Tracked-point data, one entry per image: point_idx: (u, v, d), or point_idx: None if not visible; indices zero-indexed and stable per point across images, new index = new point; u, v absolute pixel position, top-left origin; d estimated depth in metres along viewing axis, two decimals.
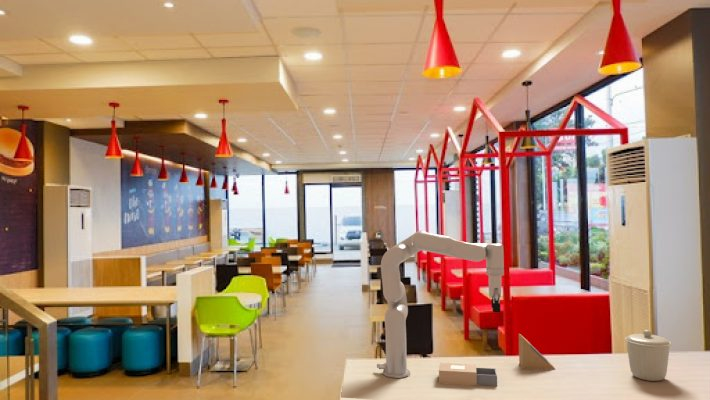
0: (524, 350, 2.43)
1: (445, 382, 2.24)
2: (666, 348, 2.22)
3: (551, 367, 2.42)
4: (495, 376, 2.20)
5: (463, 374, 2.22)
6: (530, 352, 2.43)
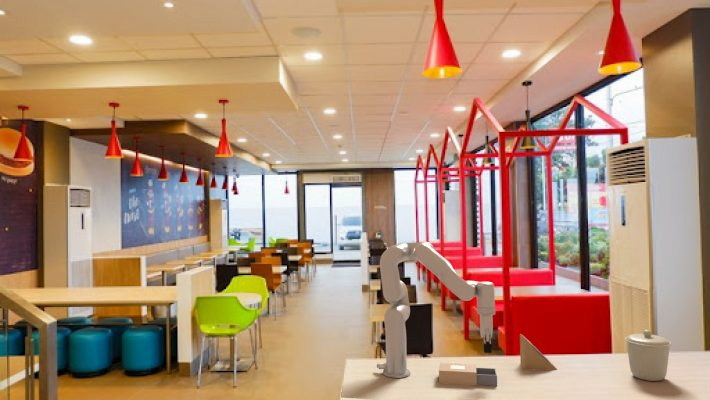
0: (526, 350, 2.43)
1: (445, 382, 2.24)
2: (666, 348, 2.22)
3: (553, 367, 2.42)
4: (495, 376, 2.20)
5: (463, 374, 2.22)
6: (532, 353, 2.42)
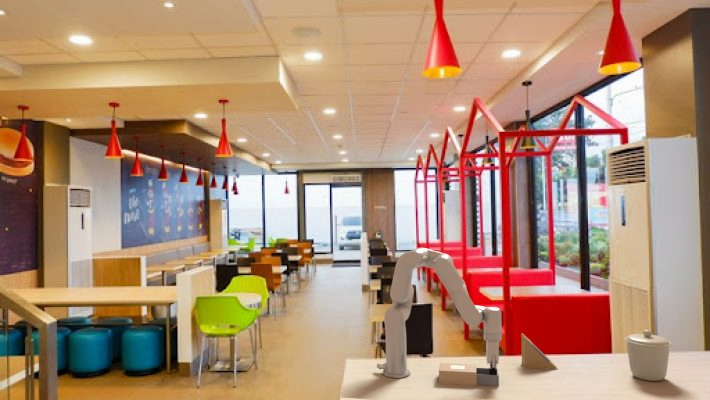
0: (526, 350, 2.44)
1: (445, 382, 2.24)
2: (666, 348, 2.22)
3: (553, 367, 2.42)
4: (497, 376, 2.20)
5: (463, 374, 2.22)
6: (532, 352, 2.44)
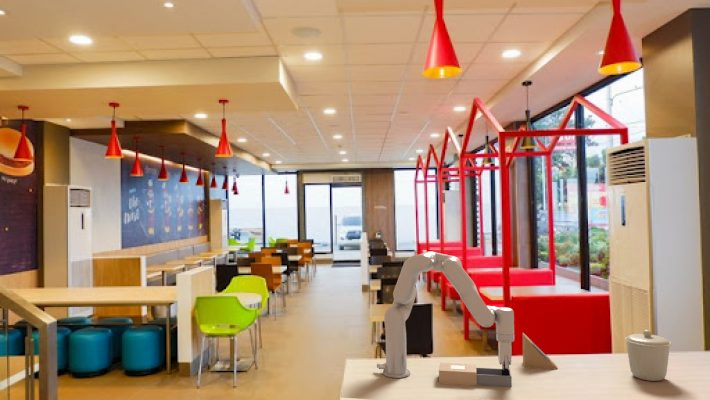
0: (526, 349, 2.45)
1: (445, 382, 2.24)
2: (666, 348, 2.22)
3: (553, 367, 2.43)
4: (510, 377, 2.19)
5: (463, 374, 2.22)
6: (532, 351, 2.44)
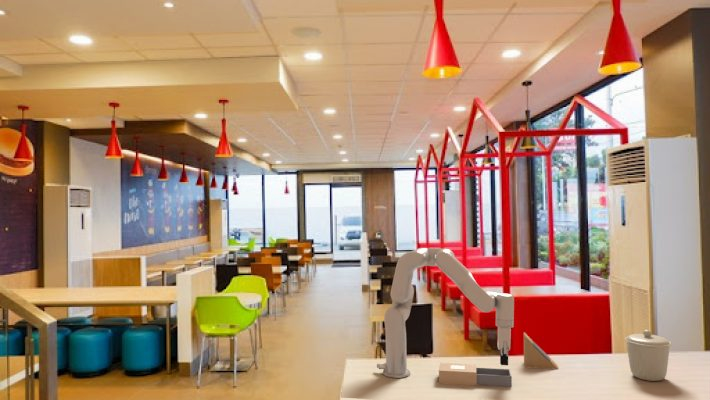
0: (526, 348, 2.46)
1: (445, 382, 2.24)
2: (666, 348, 2.22)
3: (554, 366, 2.43)
4: (510, 377, 2.19)
5: (463, 374, 2.22)
6: (533, 351, 2.45)
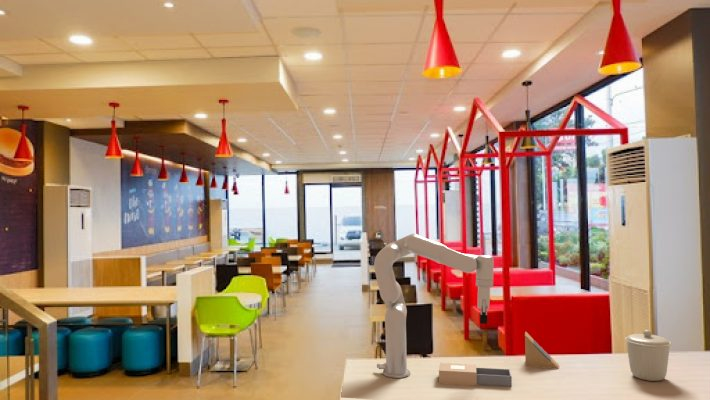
0: (527, 348, 2.47)
1: (445, 382, 2.24)
2: (666, 348, 2.22)
3: (554, 366, 2.43)
4: (510, 377, 2.19)
5: (463, 374, 2.22)
6: (533, 350, 2.46)
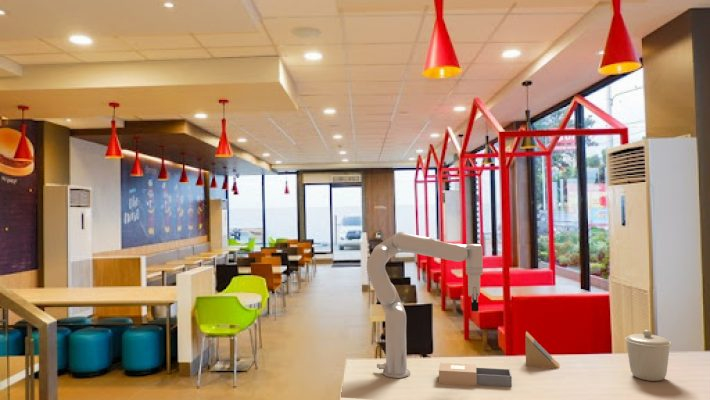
0: (527, 347, 2.48)
1: (445, 382, 2.24)
2: (666, 348, 2.22)
3: (554, 366, 2.43)
4: (510, 377, 2.19)
5: (463, 374, 2.22)
6: (533, 350, 2.47)
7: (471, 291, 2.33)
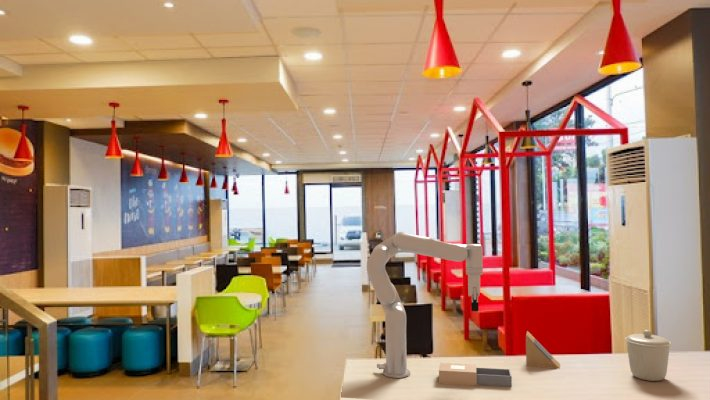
0: (527, 347, 2.48)
1: (445, 382, 2.24)
2: (666, 348, 2.22)
3: (555, 366, 2.44)
4: (510, 377, 2.19)
5: (463, 374, 2.22)
6: (534, 350, 2.47)
7: (471, 291, 2.33)
